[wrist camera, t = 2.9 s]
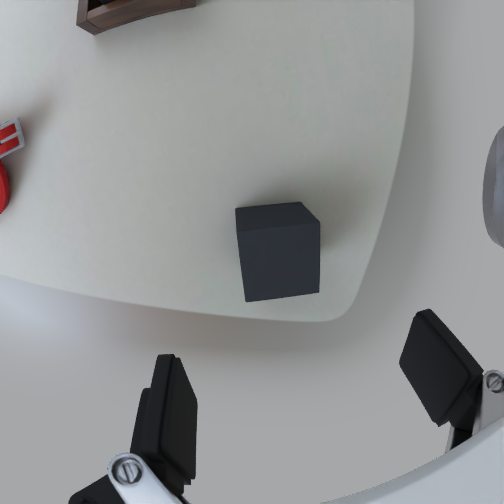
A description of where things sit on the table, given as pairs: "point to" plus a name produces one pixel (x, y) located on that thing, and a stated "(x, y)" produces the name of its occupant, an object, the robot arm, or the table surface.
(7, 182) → the tracker holder
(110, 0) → the dark grey cube
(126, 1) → the frame
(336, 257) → the table surface
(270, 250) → the dark grey block
